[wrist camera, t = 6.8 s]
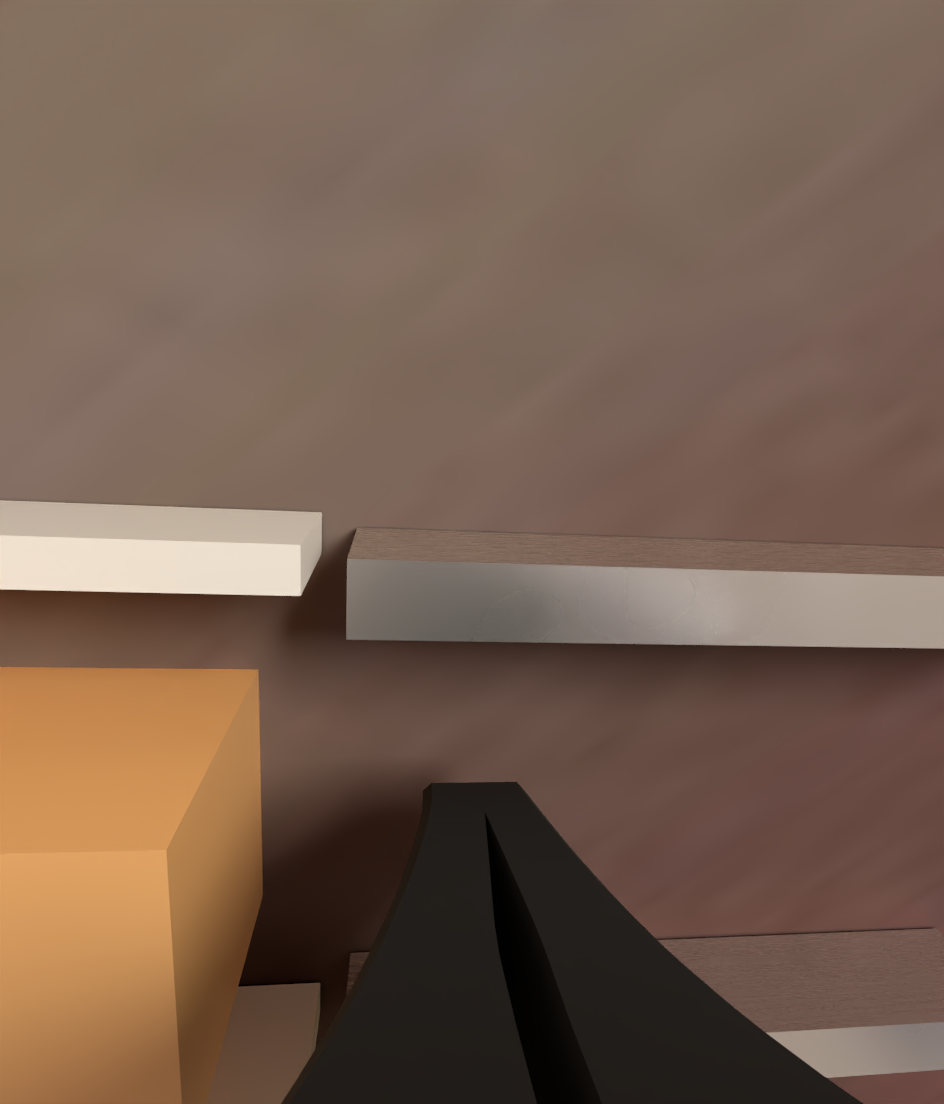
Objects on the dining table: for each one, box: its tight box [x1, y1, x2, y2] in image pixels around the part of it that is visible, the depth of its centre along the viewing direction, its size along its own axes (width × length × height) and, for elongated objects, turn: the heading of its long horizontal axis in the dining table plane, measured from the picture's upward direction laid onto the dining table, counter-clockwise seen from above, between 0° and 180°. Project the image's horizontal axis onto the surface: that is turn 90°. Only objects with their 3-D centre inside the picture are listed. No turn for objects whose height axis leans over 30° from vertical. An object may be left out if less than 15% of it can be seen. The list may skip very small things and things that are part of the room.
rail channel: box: [346, 528, 944, 1078], centre depth 10 cm, size 11×8×2 cm
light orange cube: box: [0, 667, 263, 1104], centre depth 8 cm, size 4×4×4 cm
